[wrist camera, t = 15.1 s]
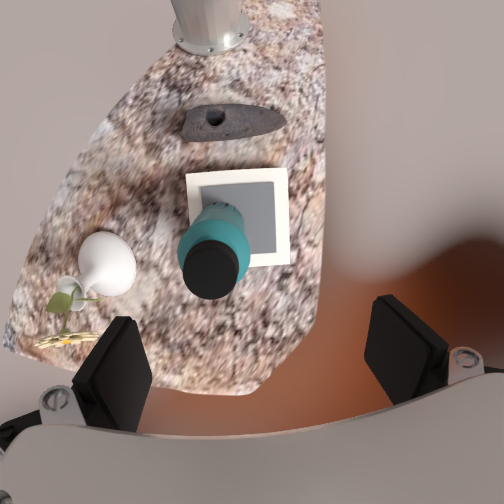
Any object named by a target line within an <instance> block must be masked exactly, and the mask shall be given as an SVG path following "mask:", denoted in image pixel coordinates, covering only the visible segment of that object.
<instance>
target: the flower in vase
mask: <svg viewBox="0 0 504 504" xmlns="http://www.w3.org/2000/svg"><path fill="white" fill-rule="evenodd" d="M78 264H79V269H80V272H81V275H80V276H78V277H75V278H74V277H71V276H62V277H61V278H60V279H59V280H58V282H57V287H56V289H57V293H55V294H54V295H53V296H52V298H51V299H50V301H49V303H48V305H47V307H46V309H45V311H47V312H53V313H63V312H65V311H66V310H67V311H66V314H65V318H64V322H63V327H62V330H61V331H60V333H59V334H58V335H52V336H48V337H44V338H41V339H39V340H37V341H35V344H34V345H35V346H38V345H39V346H38V348H40V349H42V348H46V347H49V346H51V345H55V347H61V346H63V345H64V344H68V343H71V344H80V343H81V342H80V341H94V340H95V339H98V338H97V336H99V335H97V332H92V331H79V332H70V331H69V330H68V329H65V326H66V321H67V317H68V314H69V310H73V311H79V310H81V309H83V307H84V306H85V303H86V301H100V300H102V299H103V298H101V299H88V298H86V292H87V291H88V289H89V288H91V289H93V290H94V291H95V292H97V293H99V294H101V295H105V296H117V295H121V294H123V293H125V292H126V291H127V290H129V288H130V287H131V286H132V284H133V282H134V280H135V277H136V262H135V258H134V255H133V253H132V251H131V249H130V247H129V246H128V245H127V243H126V242H125V241H124V240H123V239H122V238H120V237H119V236H117V235H116V234H113V233H111V232H106V231H100V232H96V233H93V234H91V235H90V236H88V237H87V238H86V239H85V241H84V242H83V244H82V246H81V248H80V251H79V256H78Z"/></svg>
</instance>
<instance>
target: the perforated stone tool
mask: <svg viewBox="0 0 504 504" xmlns="http://www.w3.org/2000/svg"><path fill="white" fill-rule="evenodd" d="M286 123H287V121H286V119H285V118H284V116H283V115H281V114H280V113H278V112H276V111H273V110H270V109H267V108H264V107H260V106H250V105H243V104H221V105H204V106H199V107H195V108H194V109H192V110H189V111H187V113H186V117H185V123H184V125H183V129H182V130H180V131H179V135H180V136H181V138H182V139H183V140H184V141H186V142H210V141H224V140H232V139H240V138H246V137H252V136H257V135H262V134H266V133H270V132H273V131H275V130H278V129H280V128H282V127H283V126H284V125H286Z"/></svg>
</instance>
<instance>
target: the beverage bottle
mask: <svg viewBox="0 0 504 504" xmlns="http://www.w3.org/2000/svg"><path fill="white" fill-rule="evenodd" d="M200 212H201V211H200ZM243 218H244V217H243ZM243 218H242V216H241V214H240V212H239V211H238V210H237V209H236V208H235V206H232V205H230V204H228V203H225V202H224V203H223V202H218V203H217V202H215V203H213V204H211V205H210V204H209V206H208V205H207V207H206V208H205V209H204V210H202V212H201V213H200V215H199V216H198V217H197V218H196V219H195V220H194V222H193V223H192V225H191V226H190V228H189V229H188V230H187V231H186V232H185V233H184V235H183V236H182V238H181V240H180V243H179V246H178V262H179V265H180V268H181V270H182V272H183V279H184V282H185V284H186V286H187V287H188V289H189V290H190V291H191V292H192V293H193V294H194V295H196V296H198V297H200V298H203V299H208V300H213V299H219V298H222V297H224V296H226V295H227V294H228V293H229V292H231V290H232V289H233V288H234V286H235V284H236V283H237V282H239V281H240V280H241V279H242V278H243V276H244V275H245V273H246V272H247V270H248V267H249V264H250V258H251V253H250V247H249V243H248V241H247V238H246V234H245V227H244V223H245V222H243Z"/></svg>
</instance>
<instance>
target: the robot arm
mask: <svg viewBox="0 0 504 504" xmlns="http://www.w3.org/2000/svg"><path fill="white" fill-rule="evenodd" d="M241 1H242V0H171V3H172V5H173V8H174V11H175V14H176V17H177V19H176V20H175V22H174V25H173V36H174V39H175V41H176V43H177V44H178V45H179V47H180V48H182V49H183V50H184V51H186V52H188V53H191V54H194V55H198V56H214V55H219V54H223V53H226V52H229V51H231V50H233V49H234V48H236V47H237V46H239V45H240V44H241V43H242V42H243V41H244V39H245V38H246V36H247V34H248V31H249V19H248V16H247V14H246V13H245V11H244V10H243V9H241ZM240 36H241V37H240ZM210 51H212V52H210ZM448 346H449V344H448V343H447V342H446V341H445V340H444V339H442V338H441V337H440V336H439V335H438V334H437V333H436V332H435V331H434V330H432V329H431V328H430V327H429V326H428V325H427V324H426V323H425V322H423V321H422V320H421V319H420V318H419V317H418V316H417V315H415V314H414V313H413V312H412V311H411V310H410V309H408V308H407V307H406V306H405V305H404V304H402V303H401V302H400V301H399V300H397V298H395V297H394V296H393V295H391V294H390V295H383V296H378V297H377V299H376V300H375V301H374V302H373V306H372V313H371V319H370V325H369V331H368V337H367V342H366V348H365V352H364V359H365V362H366V363H367V365H368V366H369V368H370V369H371V371H372V372H373V374H374V375H375V377H376V378H377V380H378V382H379V383H380V384H381V386H382V388H383V389H384V391H385V392H386V394H387V395H388V397H389V399H390V400H391V402H392V403H393V405H394V406H391V407H388V408H385V409H382V410H379V411H375V412H372V413H368V414H365V415H361V416H357V417H354V418H350V419H345V420H341V421H337V422H332V423H328V424H323V425H318V426H312V427H307V428H301V429H294V430H287V431H280V432H271V433H262V434H250V435H235V436H174V435H158V434H146V433H136V431H137V427H138V424H139V420H140V417H141V414H142V410H143V407H144V404H145V401H146V398H147V394H148V392H149V388H150V386H151V383H152V372H151V369H150V366H149V363H148V360H147V357H146V354H145V351H144V347H143V344H142V341H141V337H140V334H139V330H138V326H137V323H136V321H135V320H132V318H131V317H130V316H116V317H115V318H114V320H113V321H112V322H111V324H110V325H109V327H108V328H107V329H106V331H105V332H104V334H103V335H102V336H101V338H100V339H99V341H98V342H97V344H96V345H95V346H94V348H93V349H92V351H91V352H90V354H89V355H88V357H87V358H86V360H85V361H84V363H83V364H82V366H81V367H80V369H79V370H78V372H77V373H76V375H75V376H74V378H73V380H72V382H73V386H72V387H71V388H69V387H67V386H64V385H57V386H53V387H51V388H49V389H47V390H46V391H45V392H43V394H42V395H41V396H40V399H39V410H36V411H34V412H31V413H28V414H26V415H23V416H21V417H18V418H15V419H13V420H10V421H7V422H5V423H3V424H2V425H1V426H0V504H504V369H498V368H492V367H486V366H484V365H483V359H482V357H481V355H480V354H479V353H478V352H476V351H475V350H473V349H471V348H467V347H458V348H455V349H453V350H452V351H451V352H450V353H449V352H447V349H448Z"/></svg>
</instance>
